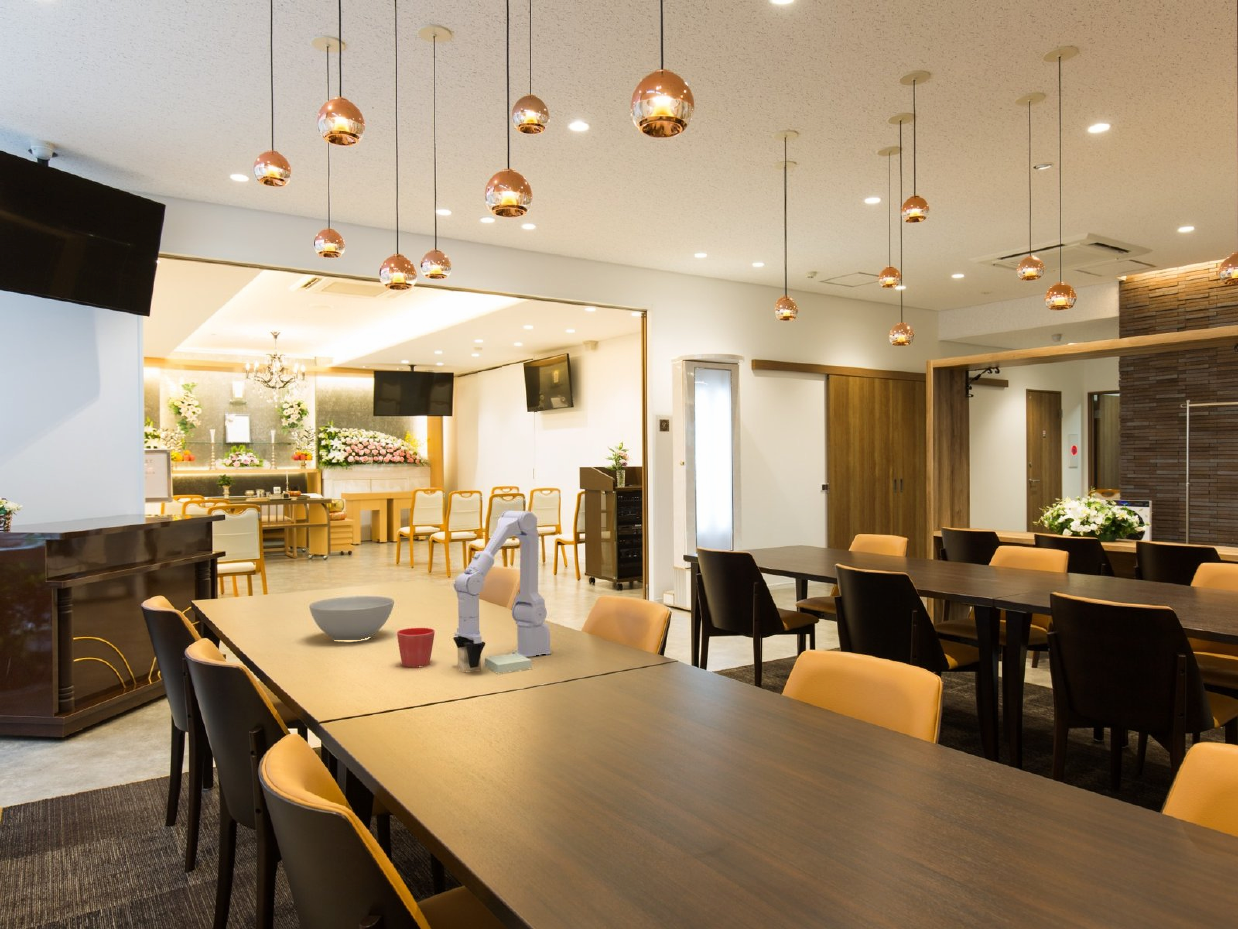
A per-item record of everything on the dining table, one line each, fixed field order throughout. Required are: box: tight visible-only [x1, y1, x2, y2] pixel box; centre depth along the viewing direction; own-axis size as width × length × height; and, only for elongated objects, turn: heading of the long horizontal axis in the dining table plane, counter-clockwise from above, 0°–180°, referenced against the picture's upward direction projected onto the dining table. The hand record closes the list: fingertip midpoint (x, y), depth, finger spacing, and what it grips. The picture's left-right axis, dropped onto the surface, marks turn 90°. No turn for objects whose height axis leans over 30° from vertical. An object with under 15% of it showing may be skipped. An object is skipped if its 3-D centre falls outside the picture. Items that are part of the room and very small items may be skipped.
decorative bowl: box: [309, 595, 395, 640], centre depth 271 cm, size 27×27×12 cm
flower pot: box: [396, 627, 435, 668], centre depth 235 cm, size 11×11×10 cm
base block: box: [484, 653, 532, 674], centre depth 230 cm, size 10×10×3 cm
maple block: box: [457, 647, 482, 673], centre depth 229 cm, size 5×5×6 cm
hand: (469, 664), depth 229 cm, fingers open, 7 cm apart
